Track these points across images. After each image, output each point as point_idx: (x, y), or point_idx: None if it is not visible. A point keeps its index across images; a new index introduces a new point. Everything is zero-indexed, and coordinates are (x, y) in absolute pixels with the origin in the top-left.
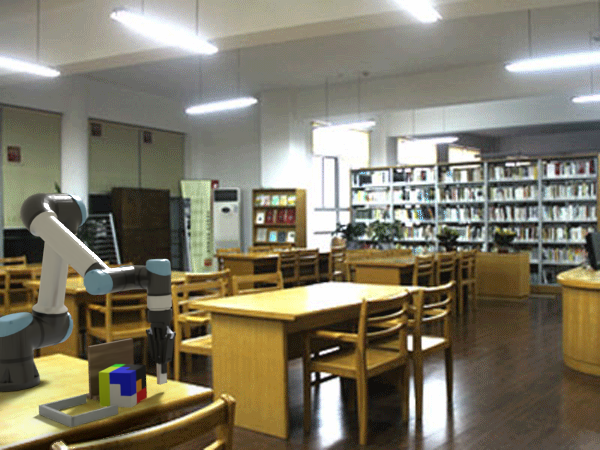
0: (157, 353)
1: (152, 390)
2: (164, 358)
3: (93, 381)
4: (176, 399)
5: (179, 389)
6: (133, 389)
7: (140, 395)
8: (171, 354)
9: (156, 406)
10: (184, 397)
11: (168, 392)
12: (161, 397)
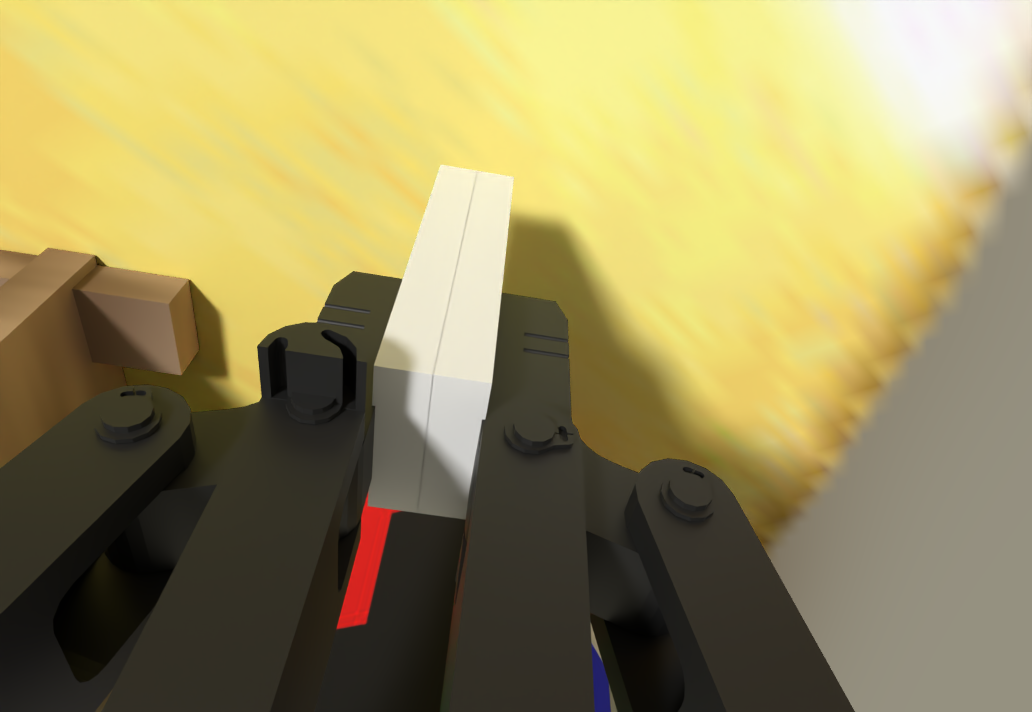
0: (313, 698)
1: (344, 216)
2: (655, 669)
3: (99, 708)
4: (859, 347)
5: (647, 5)
6: (598, 694)
7: None
8: (808, 669)
9: (780, 527)
10: (921, 263)
11: (596, 194)
12: (653, 358)
